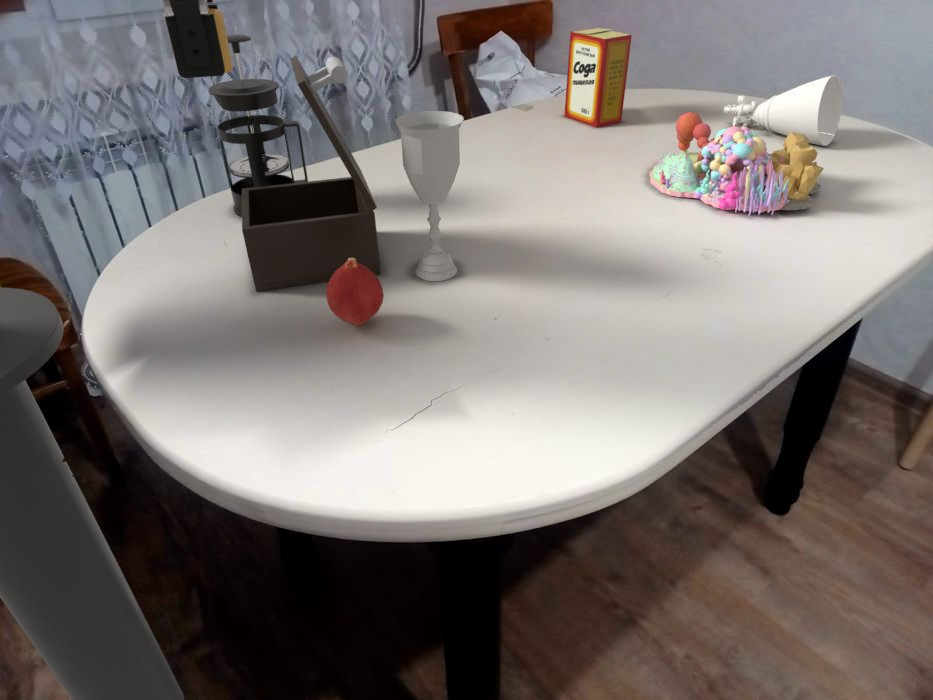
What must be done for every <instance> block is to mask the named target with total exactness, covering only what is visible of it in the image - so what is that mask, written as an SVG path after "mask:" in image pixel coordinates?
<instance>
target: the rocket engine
mask: <svg viewBox="0 0 933 700" xmlns="http://www.w3.org/2000/svg"><path fill="white" fill-rule="evenodd" d="M842 87H843V86H842V82H841V80H840V77H838V76H837V74H832V75H829V76H824V77H821V78H818V79H815V80H812V81H809V82H807V83H804V84H800V85H799V86H796V87H793V88H791V89H789V90H786V91H784V92H782V93H779V94H778V95H777V94H776V95H773V96H771V97H770V98H768V99H767V100H765V101H762V102H761V103H760V104H758V105H757V101H756V100H752V101H751V104H750V103H749V100H748V99H747V97H746V96H745V95H738V96H737V97H738V98H737V99H736V101H737V104H738V105H736V104H735V103H733V104H732V105H730V104H729V103H728V104H727V105H726V106H724V108H723V113H724V114H730V115H731V114H735V116H734V117H733V121H732V123H731V125H732V126H738V125H741V124H743V125H742V126H741V127H740V128H741V129H742V128H743V127H748V125H751V126H754V125H756V124H758V125H759V126H761V127H764V128H765V129H767V130H768V131H769V132H770V133H774V132H775V133H778V134H780V135H782V136H785V137H787V136H788V135H789V134H790V132H795V133H800V134H804V135H805V136H806V137H807V139H808V142H809V144H812V145H816V146H822V147H827V146H829V145H830V143H832V141H833V139H834V138H835V135H836V133H837V131H838V128H839V124H840V119H841V115H842V109H843V88H842ZM818 132H825V133H831V134H835V135H834V136H833V135H828V134H823V133H818Z"/></svg>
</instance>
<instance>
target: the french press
mask: <svg viewBox="0 0 933 700" xmlns="http://www.w3.org/2000/svg"><path fill="white" fill-rule="evenodd" d="M227 39H228V44H231V49H232V54H235V57H236V64H237V67H238V72H239V77H240V79H234V80H232V79H231V80H227V81H223V82H219V83H215V84H214V85H213V84H212V85H211V86H210V87H209V88H208V93H209V95H211V96H213V97H214V99H215V101H216V102H217V104H218V105H219V106H220V108H221V109H222V110H225V111H227V112H246V113H247V115H242V116H236V117H232V118H228V119H226V120H223V121H221V122H219V124H217V125H216V130H217V134H218V138H219V143H220V148H221V153H222V158H223V161H224V166H225V170H226V174H227V178H228V179H227V180H228V183H229V187H230V192H231V197H232V201H233V213H235V215H236V216H238V217H239V218H242V189H244V188H254V187H263V186H272V185H281V184H290V183H300V182H309V179H308V178H309V177H308V171H307V166H306V165H307V164H306V159H305V152H304V145H303V139H302V133H301V126H300V122H299V121H298V120H287V121H286V120H285V119H284V118H282V117H280V116H276V115H270V114H251V111H252V112H253V111H259V110H262V109H263V110H264V109H267V108H270V107H273V106H274V105H276V104H277V103H278V101H279V100H278V95H277V91H278V89H279V88H280V87H279V83H278V82H277V81H274V80H272V79H264V78H244V74H243V69H242V65H241V59H240V53H241V47H240V43H246V42H249V41H251V40H252V37H251V36H250V35H245V34H228V35H227ZM262 125H263V126H264V125H265V126H266V125H267V126H275V128H272V129H268V130H264V131H262V128H261V126H262ZM240 127H247V133H246V132H245V133H234V132H228V131H230V130H233V129H236V128H240ZM290 127H291V128H292V127H296V130H297V137H298V143H299V148H300V155H301V156H300V157H301V162H302V169H303V175H304V179H296V180H295V176H294V170H293V169H294V168H293V164H292V158H291V151H290V146H289V140H288V133H287V128H290ZM282 136H284V138H285V145H286V151H287V157H286V156H284V155H280V154H271V153H270V154H268V153H266V150H265V145H264V142H270V141H274V140H277V139H279V138H281V137H282ZM224 143H228V144H237V145H245V149H246V154H247V156H243V157H241V158H237V159H235V160H233V161H232V162H230V163H229V162H228V158H227V153H226V149H225V144H224ZM287 169H289V170H290V174H291V175H290V176H288V175H284V174H282V173H283V172H285V171H286V170H287ZM232 176H234V177H237V178H241V179H239V180H237V181H235V182H234V183H233V180H232Z"/></svg>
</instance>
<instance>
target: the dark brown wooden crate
mask: <svg viewBox="0 0 933 700" xmlns="http://www.w3.org/2000/svg"><path fill="white" fill-rule="evenodd" d="M241 232H242V236H243V240H244V244H245V249H246V253H247V258H248V263H249V267H250V271H251V275H252V280H253V284H254V289H255V291H256V292H262V291H263V292H264V291H269V290H276V289H277V290H278V289H284V288H290V287H296V286H305V285H312V284H318V283H319V284H320V283H327V282H329V281H330V279H331V277H332V276H333V274H334V272H335V271H336V270H337V269H338V268H340V267H341V266H342V265H344V264H345V263H346V262H347V260H348V259H349V258H355V259H356V261H357V263H359V264H362V265H364V266H366V267H367V268H369V269H370V270H371V271H372V272H373V273H374V274H375V275H376V276H377V275H381V263H380V253H379V242H378V233H377V221H376V213H375V211H374V210H373V211H371V210H370V208H369V207H368V205H367V203H366V201H365V200H364V198H363V196H362V194H361V193H360V191H359V189H358V188H357V186H356V184H355V182H354V181H353V179H352V177H351V176H346V177H337V178H329V179H321V180H320V179H318V180H308V182H300V183H290V184H281V185H272V186H263V187H254V188H244V189H242V217H241Z"/></svg>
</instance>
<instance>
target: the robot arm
mask: <svg viewBox="0 0 933 700" xmlns="http://www.w3.org/2000/svg"><path fill="white" fill-rule="evenodd" d="M162 4H163V9H164V13H166V16H165V17H164V21H165V20H166V21H165V24H167V25H166V29H167V28H168V29H167V33H168V32H169V33H168V37H169V36H170V37H169V41H170V45H171V49H173V50H172V53H174V54H173V57H175V58H174V61H176V62H175V65H177V66H176V70H177V69H178V70H177V74H178V75H179V76H180V77H181V78H182V79H193V78H208V77H222V76H223V75H224V74H225V73H224V72H225V66H224V61H223V56H222V52H221V47H220V42H219V37H218V32H217V27H216V22H215V18H214V14H209V9H208V8H210V9H218V10H219V8H218V4H215V1H214V0H162Z"/></svg>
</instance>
